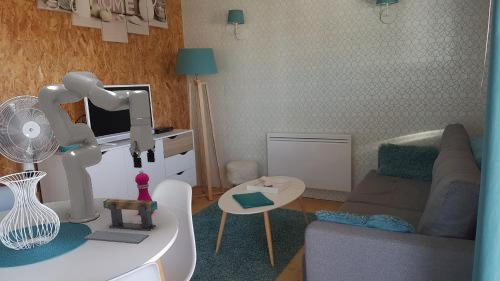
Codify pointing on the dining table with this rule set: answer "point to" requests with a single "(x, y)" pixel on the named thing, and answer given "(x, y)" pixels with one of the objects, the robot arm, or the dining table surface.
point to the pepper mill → (143, 187)
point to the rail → (131, 204)
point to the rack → (118, 223)
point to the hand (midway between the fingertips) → (144, 164)
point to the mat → (117, 237)
